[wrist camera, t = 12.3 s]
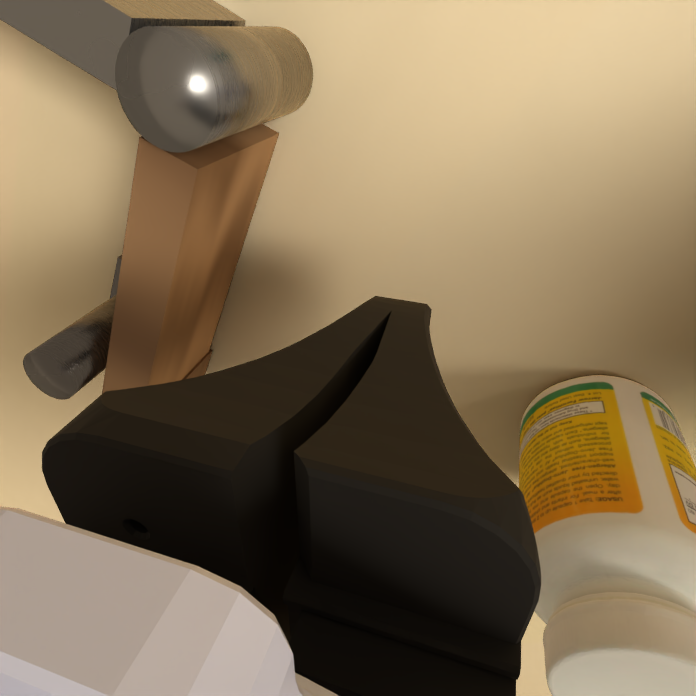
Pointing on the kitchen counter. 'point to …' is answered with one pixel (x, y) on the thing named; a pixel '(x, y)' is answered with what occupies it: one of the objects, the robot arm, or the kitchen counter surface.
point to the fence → (175, 63)
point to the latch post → (74, 351)
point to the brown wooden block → (182, 255)
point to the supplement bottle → (612, 538)
